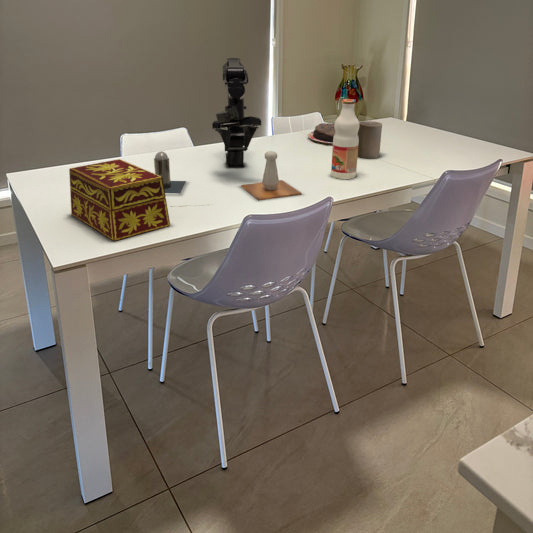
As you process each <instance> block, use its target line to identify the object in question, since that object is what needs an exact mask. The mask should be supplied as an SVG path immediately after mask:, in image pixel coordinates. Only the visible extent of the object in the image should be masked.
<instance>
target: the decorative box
mask: <svg viewBox="0 0 533 533" xmlns="http://www.w3.org/2000/svg"><path fill="white" fill-rule="evenodd" d="M68 170H69V173H68V174H69V190H70V191H69V194H70V213H71V215H72V216H73V217H75V218H76V219H77V220H80V221H81V222H83V223H84V224H86V225H88V226H89V227H91V228H93V229H94V230H95V231H97V232H99V233H100V234H102V235H104V236H105V237H107V238H108V239H110V240H112V241H113V242H115V241H119V240H123V239H127V238H130V237H134V236H138V235H140V234H141V235H142V234H145V233H149V232H153V231H155V230H159V229H162V228H163V229H164V228H166V227H170V226H171V222H170V215H169V209H168V203H167V198H166V193H165V189H164V183H163V178H162V177H161V176H159V175H156V174H155V172H152V171H150V170H147V169H145V168H142V167H140V166H137V165H135V164H132V163H131V162H128V161H126V160H123V159H119V158H117V159H112V160H107V161H101V162H96V163H92V164H86V165H82V166H81V165H79V166H75V167H70V168H69V169H68Z"/></svg>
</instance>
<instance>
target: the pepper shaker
mask: <svg viewBox="0 0 533 533" xmlns="http://www.w3.org/2000/svg"><path fill="white" fill-rule="evenodd" d="M170 165H171V164H170V157H169V156H168V154H167V153H166V152H165V151H158V152H157V153H155V156H154V158H153V166H154V168H153V169H154V174H156V175H159V176H161V177H162V178H163V183H164V189H167V188H170V187H171V181H172V180H171V166H170Z"/></svg>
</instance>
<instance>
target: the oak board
mask: <svg viewBox="0 0 533 533" xmlns="http://www.w3.org/2000/svg"><path fill="white" fill-rule="evenodd" d="M240 187H241V188H242V189H243V190H245V191H246V192H247V193H249V194H250V195H251V196H252V197H254V198H255V199H256V200H257V201H265V200H271V199H279V198H286V197H293V196H294V197H295V196H300V195H302V192H301V191H300V190H298V189H296V188H295V187H293V186H292V185H290V184H289V183H287V182H286V181H284V180H282V179H281V180H280V179H279V184H278V186H277V189H275V190H270V191H269V190H265V188H264V186H263V184H262V182H256V183H255V182H254V183H247V184H240Z"/></svg>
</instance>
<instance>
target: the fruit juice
mask: <svg viewBox="0 0 533 533" xmlns="http://www.w3.org/2000/svg"><path fill="white" fill-rule="evenodd" d="M355 106H356V99H352V98H344V99H343V98H342V99H341V110H340V113H339V115H338V116H337V118H336V119H335V120H334V123H335V124H334V128H335V135H334V137H333V145H332V150H331V151H332V152H331V169H330V173H331V174H330V175H331V177H333V178H335V179H339V180H351V179H354V178H356V176H357V170H358V168H357V167H358V158H359V157H358V145H359V137H358V130H359V126H360V124H359V122H360V120H359V119H358V118H357V116H356V112H355Z"/></svg>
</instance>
